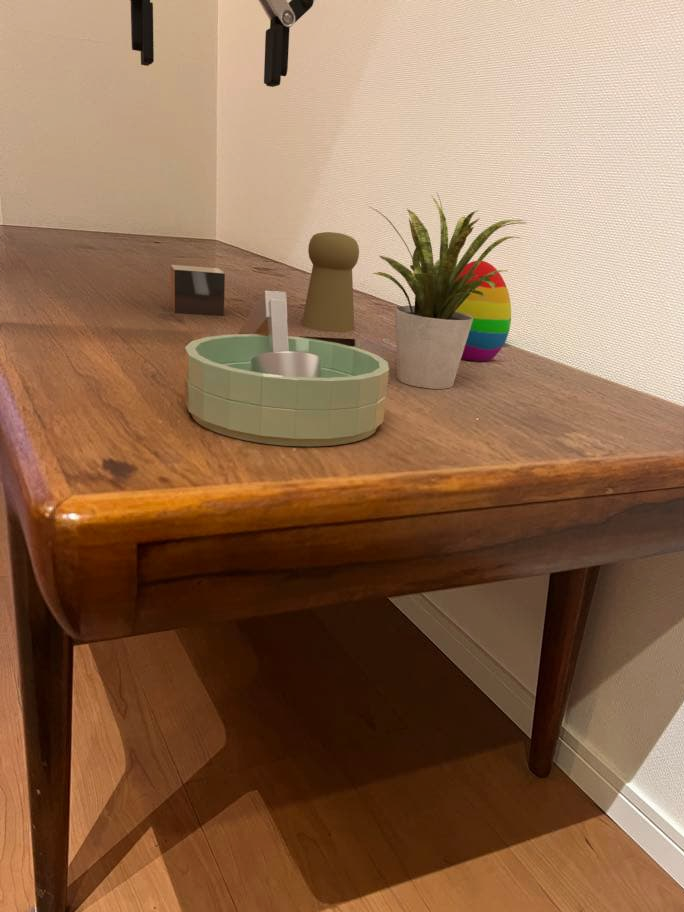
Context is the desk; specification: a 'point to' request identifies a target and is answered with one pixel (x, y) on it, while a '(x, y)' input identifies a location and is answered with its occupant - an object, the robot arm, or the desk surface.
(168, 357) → the desk surface
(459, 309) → the decorative egg
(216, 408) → the bowl
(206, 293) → the dark wooden cube
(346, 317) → the cork
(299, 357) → the silver stamp handle
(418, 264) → the house plant
